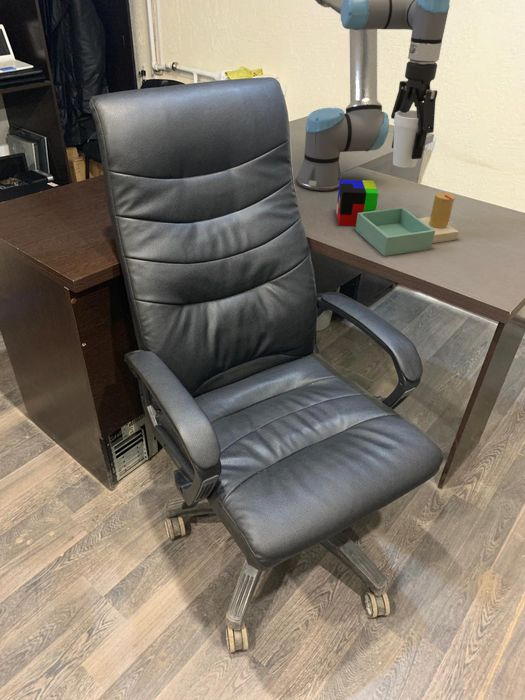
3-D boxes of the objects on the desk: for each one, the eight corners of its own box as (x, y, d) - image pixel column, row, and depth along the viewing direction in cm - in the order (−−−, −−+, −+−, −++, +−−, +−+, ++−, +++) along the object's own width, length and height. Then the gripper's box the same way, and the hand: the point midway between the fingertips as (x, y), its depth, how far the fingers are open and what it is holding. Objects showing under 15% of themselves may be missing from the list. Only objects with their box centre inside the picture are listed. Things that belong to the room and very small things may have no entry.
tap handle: (425, 221, 151) (431, 192, 146) (440, 219, 152) (447, 190, 147) (435, 229, 147) (442, 199, 142) (451, 227, 148) (459, 197, 143)
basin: (355, 230, 151) (357, 212, 148) (399, 224, 155) (402, 207, 152) (384, 256, 139) (387, 237, 136) (431, 248, 143) (435, 230, 140)
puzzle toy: (336, 211, 162) (339, 179, 156) (368, 212, 162) (373, 180, 155) (338, 225, 154) (342, 192, 148) (372, 226, 154) (378, 193, 148)
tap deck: (410, 227, 154) (412, 218, 152) (439, 223, 157) (441, 214, 155) (432, 243, 146) (434, 234, 144) (461, 238, 148) (463, 230, 147)
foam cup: (421, 170, 143) (432, 120, 135) (387, 168, 144) (395, 117, 136) (420, 160, 150) (429, 111, 142) (387, 157, 151) (395, 109, 144)
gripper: (386, 55, 139) (374, 142, 152) (435, 69, 122) (416, 166, 136) (411, 54, 141) (396, 140, 154) (462, 68, 124) (441, 164, 138)
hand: (406, 152), depth 145 cm, fingers closed on foam cup, 9 cm apart
